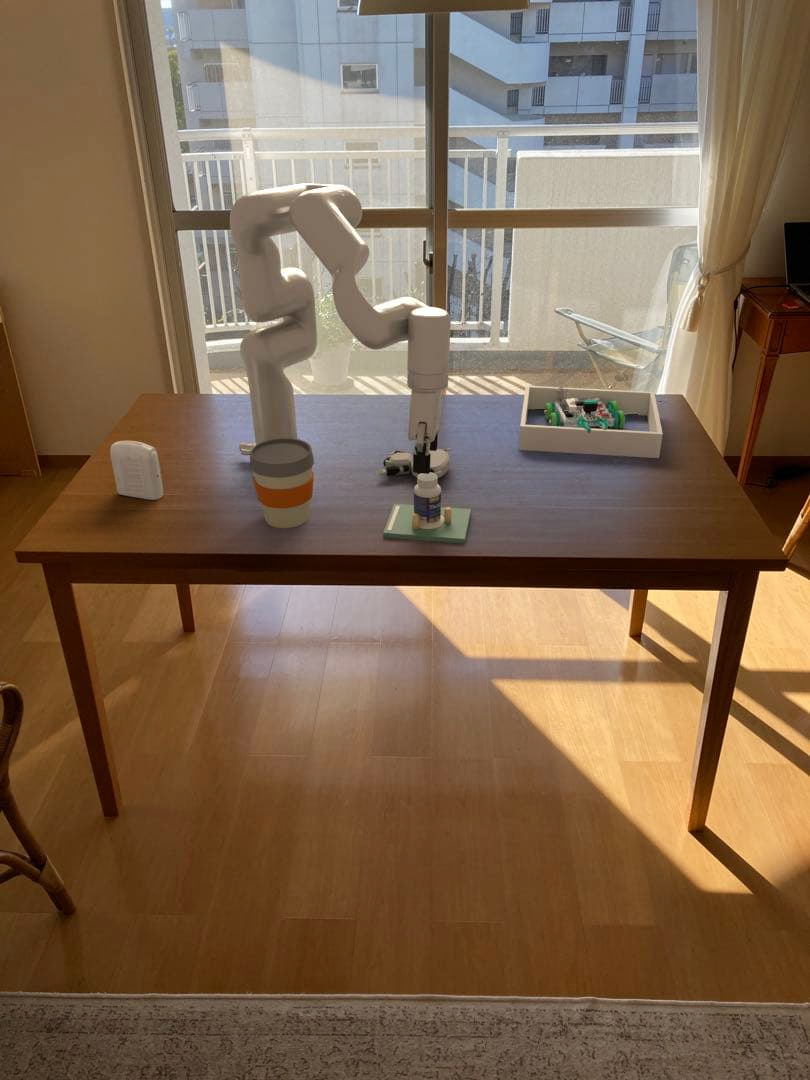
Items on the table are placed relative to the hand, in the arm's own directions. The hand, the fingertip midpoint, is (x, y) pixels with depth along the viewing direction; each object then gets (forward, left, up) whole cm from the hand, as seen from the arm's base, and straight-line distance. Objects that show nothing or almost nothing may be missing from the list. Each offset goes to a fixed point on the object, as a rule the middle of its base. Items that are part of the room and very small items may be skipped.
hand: (425, 460), depth 169 cm
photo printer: (-62, +4, -14) cm, 64 cm away
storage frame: (+33, +51, -14) cm, 62 cm away
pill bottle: (0, 0, -13) cm, 13 cm away
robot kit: (+33, +50, -14) cm, 62 cm away
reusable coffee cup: (-28, -1, -14) cm, 32 cm away
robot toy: (-5, +22, -15) cm, 27 cm away
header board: (+1, 0, -14) cm, 14 cm away
